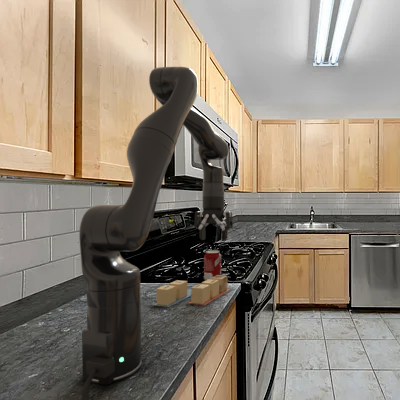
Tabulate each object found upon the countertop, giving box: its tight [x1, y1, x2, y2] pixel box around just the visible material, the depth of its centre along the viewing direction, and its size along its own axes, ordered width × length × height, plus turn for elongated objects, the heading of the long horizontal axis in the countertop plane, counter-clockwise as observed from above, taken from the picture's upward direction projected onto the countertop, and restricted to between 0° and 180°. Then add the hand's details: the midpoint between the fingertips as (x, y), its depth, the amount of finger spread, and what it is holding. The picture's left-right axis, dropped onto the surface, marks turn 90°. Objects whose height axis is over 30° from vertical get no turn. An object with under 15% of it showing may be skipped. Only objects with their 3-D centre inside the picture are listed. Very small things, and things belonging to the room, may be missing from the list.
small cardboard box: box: [211, 274, 228, 292], centre depth 113 cm, size 4×4×5 cm
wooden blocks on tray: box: [188, 279, 231, 306], centre depth 107 cm, size 17×6×5 cm, turn 165°
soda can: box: [203, 249, 222, 281], centre depth 127 cm, size 7×7×12 cm
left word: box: [151, 279, 191, 308], centre depth 105 cm, size 18×6×5 cm, turn 165°
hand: (213, 240), depth 111 cm, fingers open, 8 cm apart
